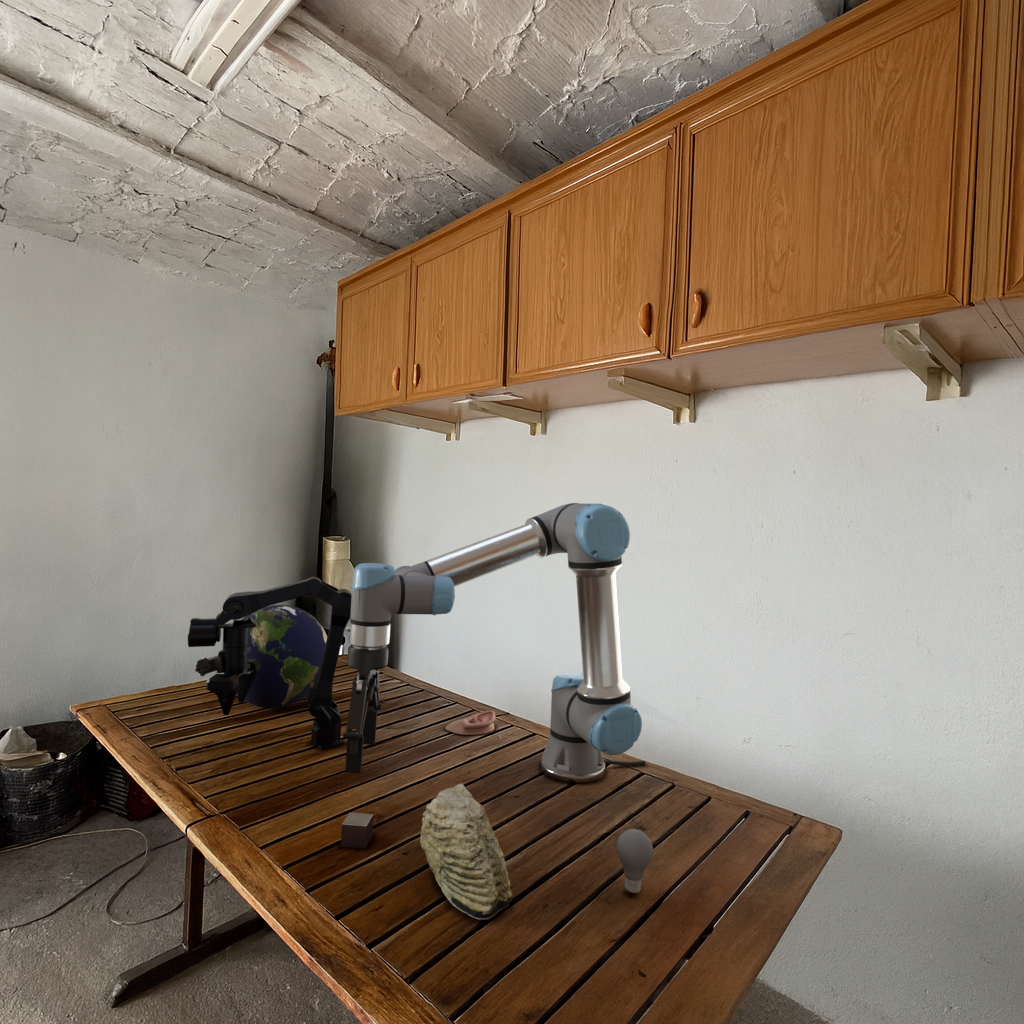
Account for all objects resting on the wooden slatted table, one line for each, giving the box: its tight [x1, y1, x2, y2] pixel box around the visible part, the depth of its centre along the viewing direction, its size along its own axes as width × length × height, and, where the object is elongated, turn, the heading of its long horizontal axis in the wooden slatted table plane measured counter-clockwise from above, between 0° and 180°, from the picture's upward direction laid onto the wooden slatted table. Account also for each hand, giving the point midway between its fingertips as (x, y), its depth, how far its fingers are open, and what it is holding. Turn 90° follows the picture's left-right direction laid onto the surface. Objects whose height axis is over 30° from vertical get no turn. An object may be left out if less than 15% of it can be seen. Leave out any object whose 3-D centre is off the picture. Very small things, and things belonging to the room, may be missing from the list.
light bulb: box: [615, 828, 654, 894], centre depth 106 cm, size 6×6×10 cm
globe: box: [236, 604, 328, 709], centre depth 188 cm, size 30×30×30 cm
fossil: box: [419, 783, 514, 921], centre depth 104 cm, size 9×18×15 cm, turn 45°
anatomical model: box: [444, 710, 496, 736], centre depth 177 cm, size 13×4×12 cm
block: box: [340, 811, 374, 850], centre depth 117 cm, size 4×5×4 cm
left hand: (233, 708), depth 155 cm, fingers open, 9 cm apart
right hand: (361, 757), depth 120 cm, fingers open, 13 cm apart
